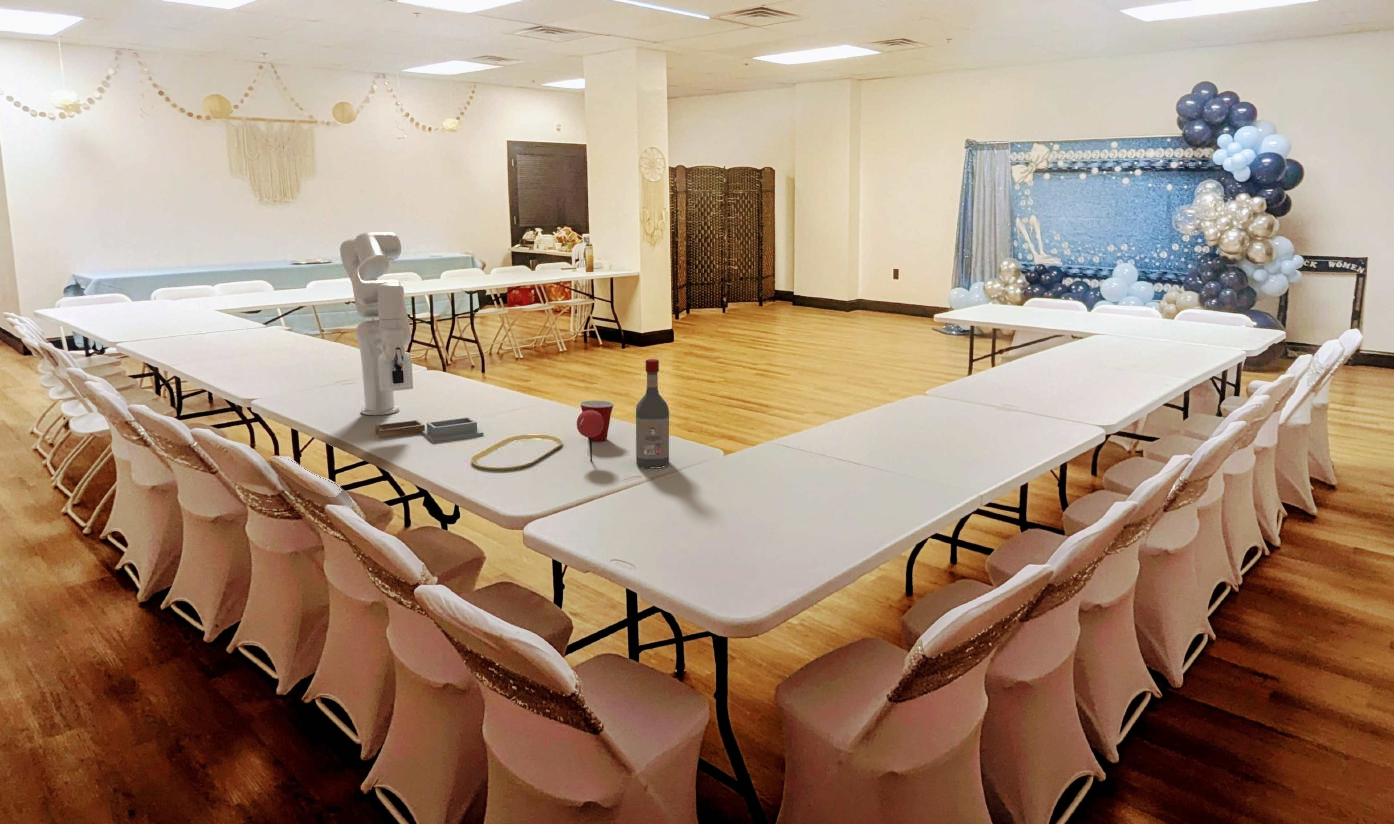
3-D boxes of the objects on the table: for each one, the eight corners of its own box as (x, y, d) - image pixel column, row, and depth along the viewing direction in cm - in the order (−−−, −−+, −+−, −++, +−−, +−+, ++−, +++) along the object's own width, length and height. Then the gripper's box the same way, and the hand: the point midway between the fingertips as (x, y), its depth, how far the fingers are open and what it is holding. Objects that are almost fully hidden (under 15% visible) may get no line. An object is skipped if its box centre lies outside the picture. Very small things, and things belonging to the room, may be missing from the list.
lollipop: (578, 457, 263) (576, 407, 259) (604, 457, 264) (603, 407, 260) (577, 465, 256) (575, 414, 252) (604, 465, 256) (603, 413, 253)
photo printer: (411, 386, 289) (408, 348, 286) (415, 389, 285) (412, 350, 282) (378, 390, 283) (375, 351, 280) (381, 393, 280) (378, 353, 277)
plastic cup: (620, 436, 286) (620, 399, 283) (606, 445, 276) (605, 407, 273) (589, 433, 289) (588, 396, 286) (574, 441, 279) (573, 404, 276)
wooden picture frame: (375, 432, 287) (374, 425, 286) (418, 427, 294) (417, 419, 293) (381, 438, 281) (380, 430, 280) (425, 432, 288) (424, 425, 287)
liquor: (669, 468, 254) (669, 363, 247) (636, 468, 253) (635, 363, 246) (667, 458, 263) (667, 357, 255) (636, 459, 262) (635, 357, 255)
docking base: (421, 433, 287) (420, 421, 286) (470, 427, 295) (470, 415, 294) (432, 442, 277) (432, 430, 276) (483, 435, 285) (482, 423, 284)
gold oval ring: (572, 442, 280) (572, 437, 280) (518, 475, 248) (518, 470, 247) (518, 436, 286) (517, 432, 285) (458, 469, 253) (458, 463, 253)
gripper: (372, 320, 284) (377, 377, 289) (386, 328, 270) (391, 388, 275) (397, 319, 288) (401, 375, 292) (412, 326, 274) (415, 385, 279)
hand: (396, 380), depth 284 cm, fingers closed on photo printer, 4 cm apart
